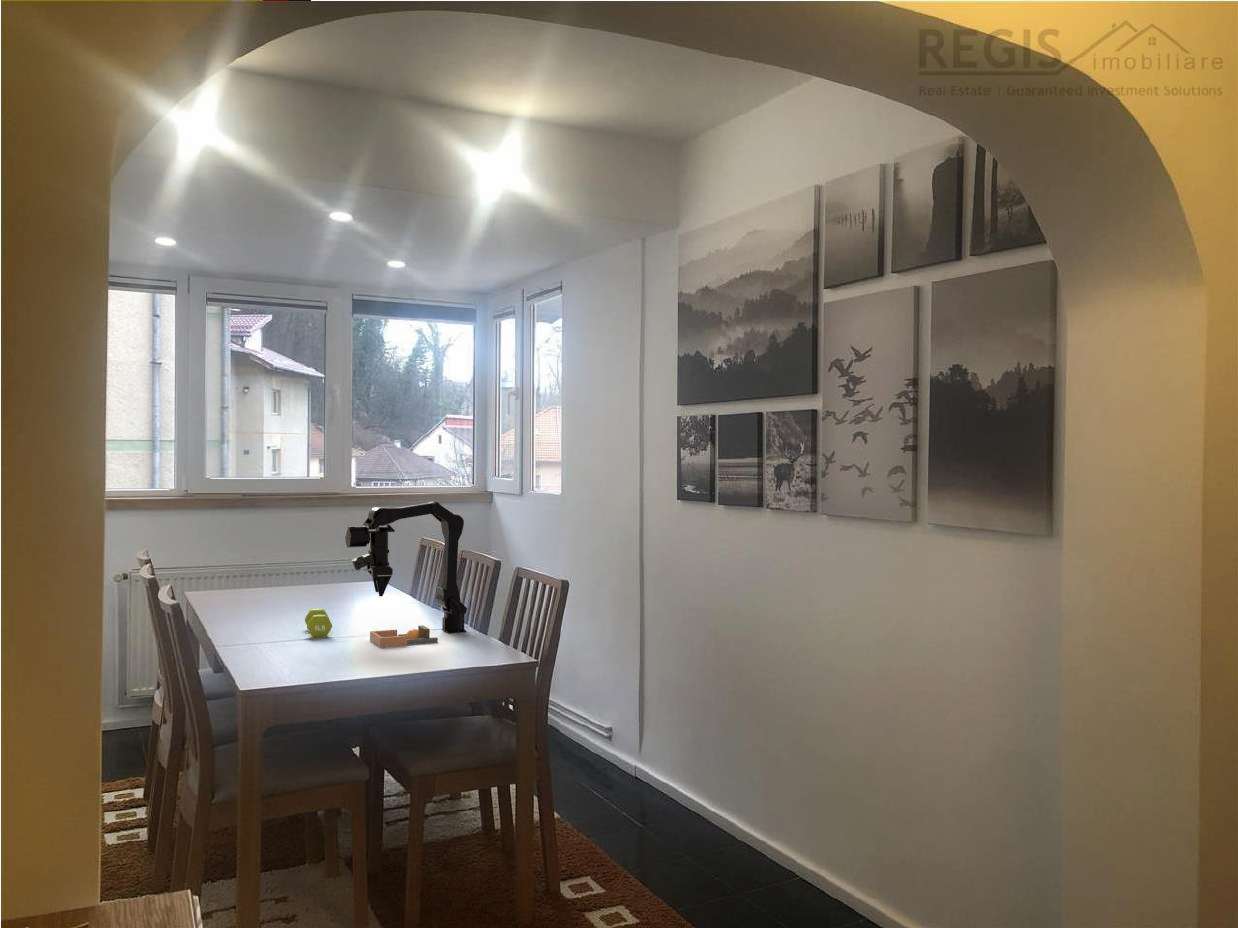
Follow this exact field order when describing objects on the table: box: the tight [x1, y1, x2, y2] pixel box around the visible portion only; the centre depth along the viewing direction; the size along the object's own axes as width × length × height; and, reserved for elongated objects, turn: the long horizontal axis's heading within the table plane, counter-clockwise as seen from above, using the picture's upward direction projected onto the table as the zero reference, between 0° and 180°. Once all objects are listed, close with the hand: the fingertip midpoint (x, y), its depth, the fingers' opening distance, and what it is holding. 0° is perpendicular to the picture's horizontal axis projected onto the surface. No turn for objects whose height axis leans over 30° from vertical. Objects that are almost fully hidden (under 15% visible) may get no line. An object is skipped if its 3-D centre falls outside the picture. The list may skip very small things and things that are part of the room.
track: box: [397, 633, 439, 646], centre depth 302 cm, size 10×10×2 cm
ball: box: [406, 628, 420, 640], centre depth 302 cm, size 4×4×4 cm
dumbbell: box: [304, 608, 333, 639], centre depth 311 cm, size 16×8×7 cm, turn 21°
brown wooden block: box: [417, 625, 431, 639], centre depth 303 cm, size 2×7×4 cm, turn 29°
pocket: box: [369, 629, 408, 649], centre depth 298 cm, size 8×12×3 cm
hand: (379, 594), depth 306 cm, fingers open, 9 cm apart
